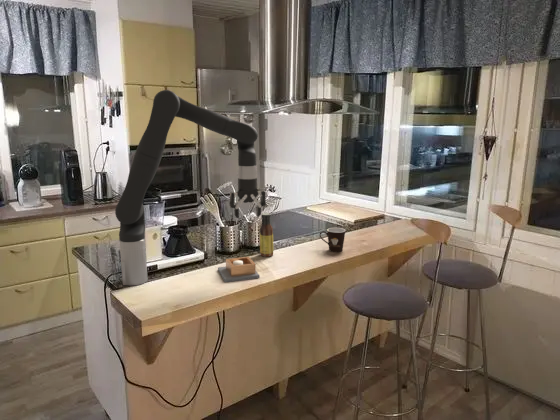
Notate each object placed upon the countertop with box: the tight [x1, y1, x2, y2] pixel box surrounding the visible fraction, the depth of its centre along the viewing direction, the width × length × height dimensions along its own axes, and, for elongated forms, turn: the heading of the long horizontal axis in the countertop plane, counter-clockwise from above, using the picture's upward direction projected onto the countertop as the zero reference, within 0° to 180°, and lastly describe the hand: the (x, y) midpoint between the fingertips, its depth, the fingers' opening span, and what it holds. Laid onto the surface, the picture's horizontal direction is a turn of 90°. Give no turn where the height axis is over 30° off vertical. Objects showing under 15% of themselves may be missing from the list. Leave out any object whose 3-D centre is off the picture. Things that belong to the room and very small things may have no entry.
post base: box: [217, 260, 260, 283], centre depth 177 cm, size 14×14×5 cm
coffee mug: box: [319, 227, 347, 253], centre depth 209 cm, size 12×9×10 cm
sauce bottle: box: [259, 212, 275, 258], centre depth 199 cm, size 7×6×20 cm
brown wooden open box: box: [225, 256, 257, 277], centre depth 178 cm, size 10×10×4 cm
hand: (247, 217), depth 174 cm, fingers open, 8 cm apart
